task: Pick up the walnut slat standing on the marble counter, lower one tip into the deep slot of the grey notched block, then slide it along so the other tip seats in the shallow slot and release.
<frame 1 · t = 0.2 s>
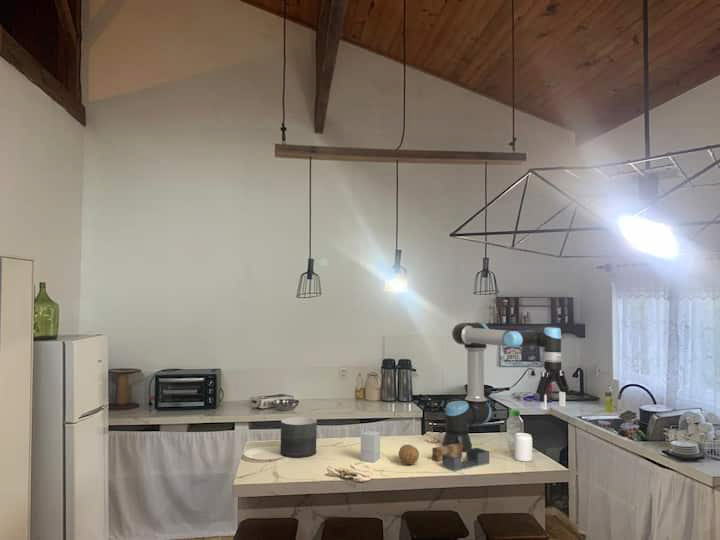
hand: (553, 407, 244), 28 cm above the counter, fingers open, 13 cm apart
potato: (408, 463, 249), on the counter
supplement box: (370, 460, 254), on the counter
slat: (447, 459, 257), on the counter
grey notched block: (466, 465, 247), on the counter
beverage can: (523, 460, 256), on the counter
planter: (298, 453, 263), on the counter
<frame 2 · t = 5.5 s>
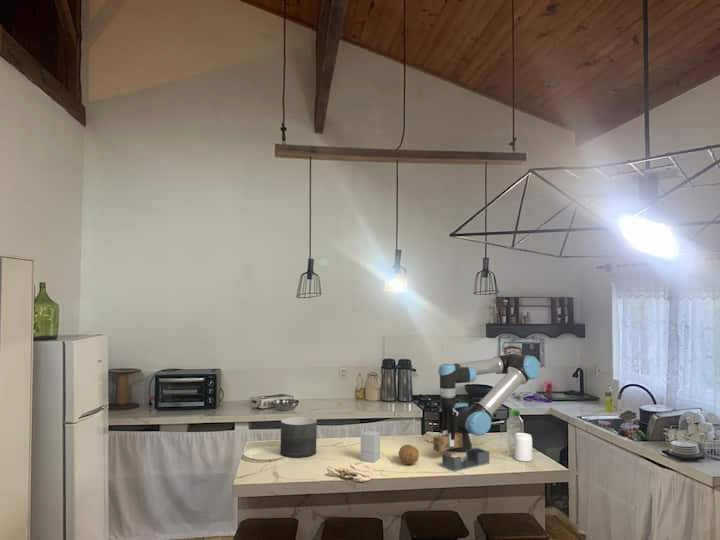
hand: (448, 445, 258), 6 cm above the counter, fingers closed on slat, 4 cm apart
slat: (448, 448, 257), point 5 cm above the counter, touching gripper
everything else where it was.
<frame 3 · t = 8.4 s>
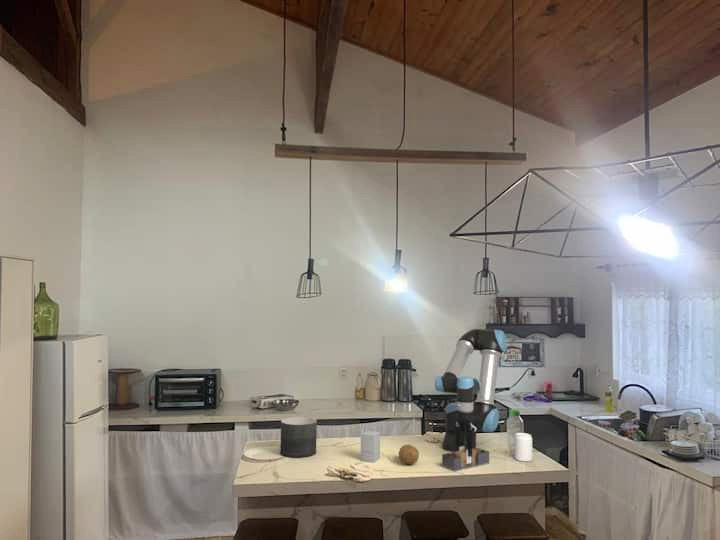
hand: (465, 461, 246), 2 cm above the counter, fingers closed on slat, 4 cm apart
slat: (466, 464, 246), point 1 cm above the counter, touching grey notched block, gripper
everything else where it was.
when the fingers open (2 cm above the counter, at t = 8.7 s): slat stays where it is, resting on grey notched block.
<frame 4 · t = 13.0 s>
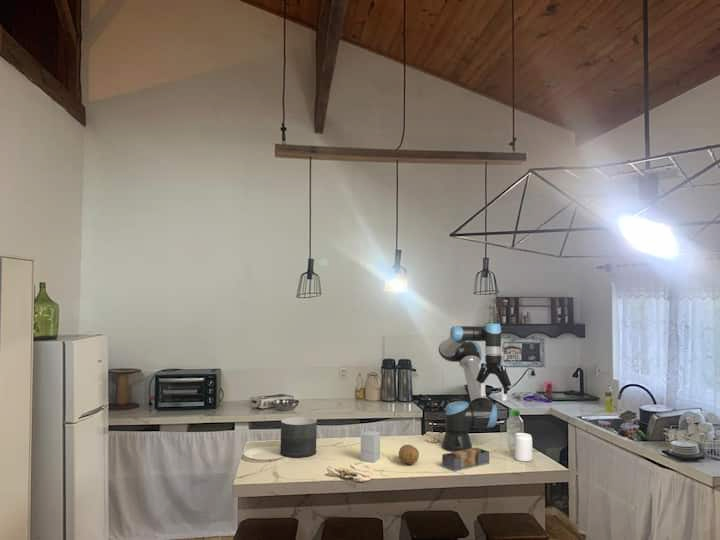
hand: (493, 398, 261), 29 cm above the counter, fingers open, 13 cm apart
slat: (465, 464, 246), point 1 cm above the counter, touching grey notched block
everything else where it was.
at the end: slat 1.0 cm from the target spot on the grey notched block, point 0.6 cm above the grey notched block's base; slat tilted 0°; the gripper is holding nothing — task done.
